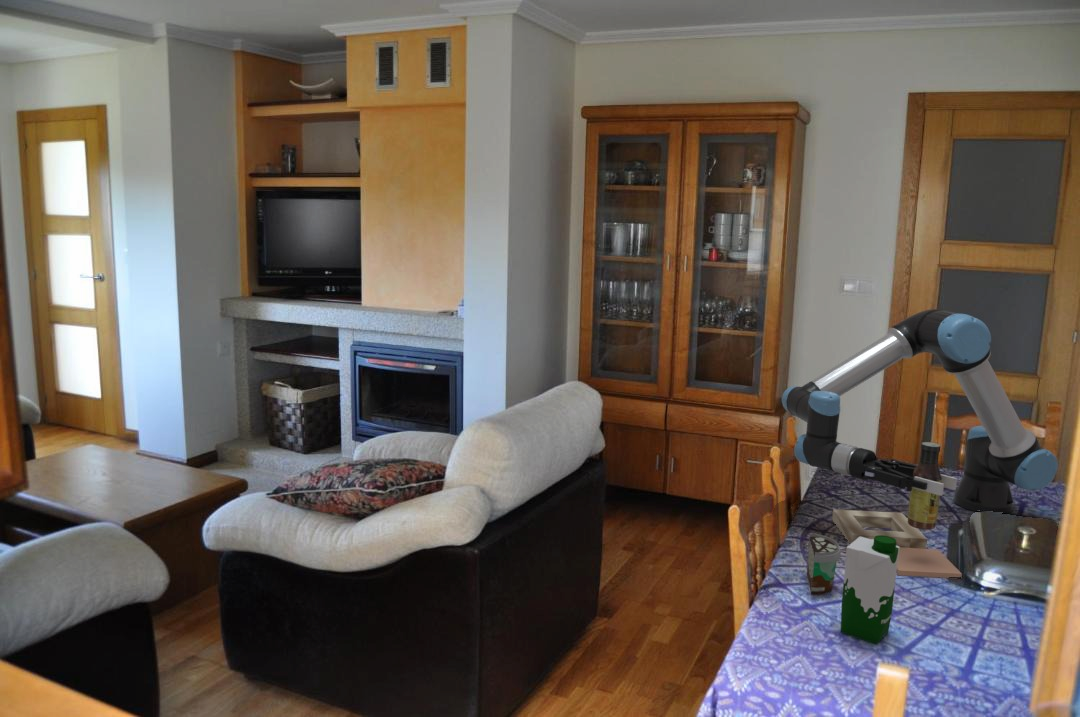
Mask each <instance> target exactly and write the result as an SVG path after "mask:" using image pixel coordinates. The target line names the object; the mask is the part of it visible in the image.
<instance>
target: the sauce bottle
mask: <svg viewBox="0 0 1080 717" xmlns="http://www.w3.org/2000/svg"><path fill="white" fill-rule="evenodd" d="M920 445H921V446H920V450H921V454H920V458H919V461H920V462H918V464H917V466H916V467H915V469H914V472H913V479H914V477H915V476H916V477H920V478H924V479H928V480H931V481H935V482H939V483H941V482H942V478H941V474H942V473H941V471H940V468H939V454H940V451H941V444H938V443H936V442H930V441H928V442H927V441H925V442H924V441H923V442H922V443H921V444H920ZM940 498H941V496H940V495H936V494H932V493H929V492H925V491H921V490H918V489H914V488H913V487H912V491H910V495H909V504H908V511H907V519H908V524H909V525H910V526H912V527H914V528H917V529H918V530H923V531H925V530H926V531H927V530H929V531H931V530H933V529H935V528H936V525H937V524H936V523H937V521H938V520H937V519H938V513H939V512H938V511H939V504H940Z"/></svg>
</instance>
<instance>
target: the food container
mask: <svg viewBox="0 0 1080 717" xmlns="http://www.w3.org/2000/svg"><path fill="white" fill-rule="evenodd" d="M841 557H842V555H841V548H840V545H839V543H838V542H837V541H836V540H835V539H833V538H831V537H829V536H825V535H823V534H819V533H818V534H817V533H811V532H810V533H809V534H808V552H807V564H806V575H807V576H806V579H807V583H808V584H809V585H808V584H807V585H808V588H810V589H809V593H810V595H816V594H817V595H825V593H826V594H829V593H830V592H831V591H832V590H833V586H834V580H835V575H836V570H837V568H836V567H837V562H838V560H840V559H841ZM828 592H829V593H828Z"/></svg>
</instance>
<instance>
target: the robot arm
mask: <svg viewBox="0 0 1080 717" xmlns="http://www.w3.org/2000/svg"><path fill="white" fill-rule="evenodd" d="M991 342H992V335H991V332H990V330H989V328H988V326H987V325H986V324H985V322H983V321H982V320H980V319H979V318H976V317H974V316H972V315H970V314H965V313H958V312H953V311H948V310H944V309H938V308H932V309H931V308H930V309H926V310H922V311H919V312H918V313H915V314H912V315H911V316H908V317H907V318H904V319H903V320H901V321H900V322H898V323H896V324H894V325H893V326H891V327H889V328H888V329H887V333H886V335H884V336H883V337H881V338H879V339H877V340H876V341H874V342H872V343H871V344H869V345H867V346H866V347H865V348H863V349H861V350H859V351H857V352H856V353H855V354H853V355H852V356H849V357H847V359H845V360H843V361H841V362H840V363H838V364H837V365H835V366H834V367H831V368H830V369H828V370H827V371H826V372H824V373H822V374H820V375H819V376H817V377H815V378H814V379H813V380H811V381H809V382H807V383H805V384H804V385H802V386H796V385H795V386H790V387H788V388H787V389H786V390H784V392H783V393H782V396H781V403H782V406H783V409H785V411H787V412H788V413H789V414H790V415H792V416H794V417H797V418H799V419H800V420H802V421H803V422H805V423H806V433H804V434H800V435H799V437H798V438H797V440H796V441H795V442H796V443H795V445H794V448H793V449H794V450H793V451H794V456H795V458H796V459H797V461H798V462H800V463H803V464H806V465H809V466H810V467H813V468H814V467H815V468H819V469H823V470H826V471H830V472H833V473H838V474H840V476H841V477H845V476H848V477H852V478H855V479H859V480H862V481H869V480H871V481H876V482H879V483H883V484H885V485H889V486H892V487H895V488H899V489H902V490H905V489H906V491H907V492H911V491H912V487H913V488H914V489H918V490H921V491H925V492H929V493H932V494H936V495H940V497H943V495H944V488H946V489H949V490H952V491H954V495H953V496H954V497H953V502H954V503H955V504H956V505H957V506H959V507H961V508H962V509H963V508H964V509H967V510H969V511H972V512H973V511H974V512H976V511H977V510H980V511H993V512H1003V513H1007V514H1009V513H1012V512H1013V510H1014V499H1013V498H1014V497H1013V494H1012V489H1011V486H1010V484H1012V485H1014V486H1016V487H1017V488H1019V489H1023V490H1026V491H1029V492H1034V491H1035V492H1036V491H1040V490H1042V489H1044V488H1046V487H1048V485H1049V484H1050V483H1052V482H1053V480H1054V479H1055V476H1056V474H1057V472H1058V469H1059V468H1058V467H1059V463H1058V458H1057V457H1056V455H1055V454H1054V453H1053V452H1052V451H1050V450H1049V449H1046V448H1043V447H1042V445H1041V443H1040V442H1039V439H1038V438H1037V436H1036V434H1035V433H1034V432H1033V431H1032V430H1030V429H1028V428H1025V427H1024V425H1023V423H1022V421H1021V419H1020V418H1019V415H1018V414H1017V412H1016V410H1015V409H1014V406H1013V404H1012V403H1011V401H1010V399H1009V397H1008V395H1007V393H1006V391H1005V389H1004V387H1003V385H1002V384H1001V382H1000V380H999V378H998V376H997V375H996V373H995V370H994V368H993V367H992V365H991V363H990V362H989V359H990V357H991V355H992V354H991V353H992V352H991V345H990V344H991ZM922 353H923V354H924V353H929V354H932V355H936V357H937V358H938V360H939V362H940V364H941V365H942V367H943V370H945V372H946V373H948V374H951V375H954V376H955V378H956V380H957V382H958V383H959V386H960V387H961V389H962V390H963V392H964V394H965V397H966V398H967V399H968V402H969V404H970V405H971V407H972V409H973V411H974V414H976V416H977V418H978V419H979V422H980V424H981V425H975V426H973V427H971V428H970V429H969V430H968V435H967V438H966V449H965V459H964V466H963V467H964V469H963V475H962V478H961V479H960V481H959V483H958V482H957V481H958V478H957V477H953V476H949V475H945V474H942V473H940V474H941V478H942V482H941V483H939V482H935V481H931V480H928V479H924V478H920V477H916V476H915V477H914V479H913V472H914V469H915V467H916V466H917V465H918V464H917V465H916V464H913V463H909V462H903V461H901V460H898V459H895V458H891V459H890V461H889V460H888V459H883V458H881V459H878V458H877V454H876V452H875V451H873V450H870V449H867V448H863V447H858V446H856V445H851V444H847V443H843V442H839V441H838V440H837V439H838V430H839V429H838V428H839V422H840V413H841V396H843V395H844V394H846V393H848V392H849V391H851V390H853V389H855V388H857V387H858V386H859V385H861V384H862V383H864V382H866V381H868V380H869V379H871V378H873V377H874V376H876V375H877V374H880V373H881V372H883V371H884V370H885V369H887V368H890V367H891V366H893V365H894V364H896V363H898V362H899V361H901V360H902V359H907V360H909V359H912V358H913V357H915V356H916V355H919V354H922ZM957 483H958V485H957Z"/></svg>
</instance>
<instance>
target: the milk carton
mask: <svg viewBox="0 0 1080 717" xmlns="http://www.w3.org/2000/svg"><path fill="white" fill-rule="evenodd" d="M899 549H900V547H899V546H896V540H895V539H894V538H892V537H889V536H883V535H879V536H875V537H874V539H868V538H864V537H858V538H857V539H856V540H855V541H854V542H852V543H851V544H848V545H847V546H846V551H845V552H846V553H845V564H844V565H845V566H844V576H843V585H842V586H843V587H842V596H841V597H842V598H841V599H842V600H841V607H840V608H841V611H840V614H841V615H840V618H841V619H840V633H842V634H845V635H849V636H851V637H854V638H856V639H860V640H863V641H865V642H869V643H871V644H875V645H878V644H879V642H880V641H882V639H883V638H884V636H886V635H887V633H888V632H889V631H890V630H889V629H890V624H891V620H892V616H893V615H892V614H893V606H894V599H895V598H894V597H895V588H896V580H897V573H896V571H897V563H898V556H899Z"/></svg>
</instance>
